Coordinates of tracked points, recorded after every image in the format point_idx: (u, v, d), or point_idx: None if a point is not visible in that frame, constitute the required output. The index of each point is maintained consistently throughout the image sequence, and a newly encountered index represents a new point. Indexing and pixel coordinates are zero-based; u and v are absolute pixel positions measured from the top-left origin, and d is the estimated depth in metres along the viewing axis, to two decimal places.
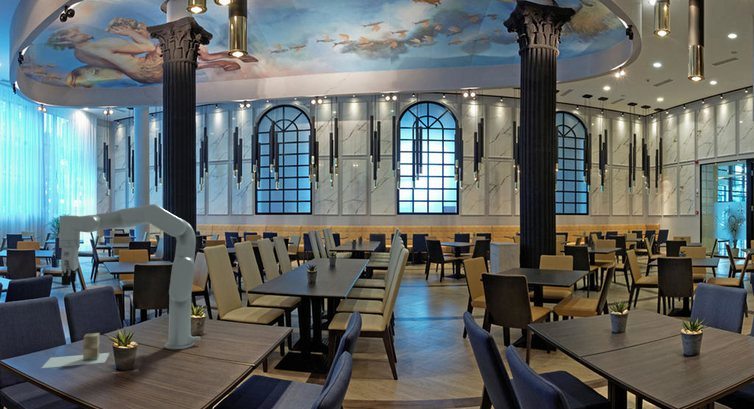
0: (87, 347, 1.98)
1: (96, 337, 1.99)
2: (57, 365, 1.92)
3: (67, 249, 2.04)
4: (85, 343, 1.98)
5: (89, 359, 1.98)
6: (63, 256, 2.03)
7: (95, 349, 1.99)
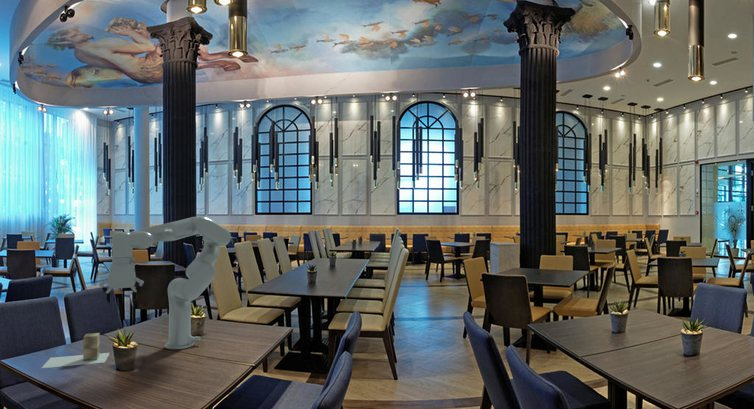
0: (87, 347, 1.98)
1: (96, 337, 1.99)
2: (57, 365, 1.92)
3: None
4: (85, 343, 1.98)
5: (89, 359, 1.98)
6: (134, 272, 2.06)
7: (95, 349, 1.99)
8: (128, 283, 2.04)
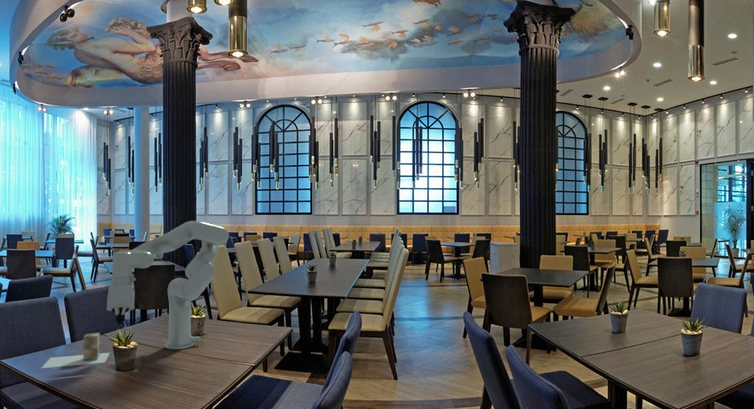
0: (87, 347, 1.98)
1: (96, 337, 1.99)
2: (57, 365, 1.92)
3: (133, 285, 2.07)
4: (85, 343, 1.98)
5: (89, 359, 1.98)
6: (133, 292, 2.05)
7: (95, 349, 1.99)
8: (127, 303, 2.03)
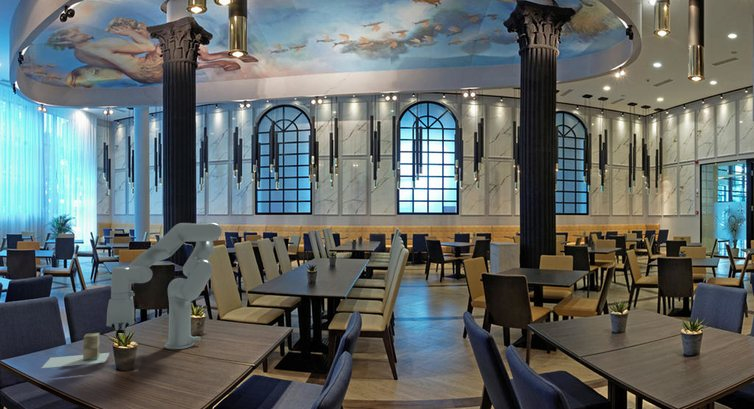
0: (87, 347, 1.98)
1: (96, 337, 1.99)
2: (57, 365, 1.92)
3: (132, 300, 2.06)
4: (85, 343, 1.98)
5: (89, 359, 1.98)
6: (133, 307, 2.05)
7: (95, 349, 1.99)
8: (127, 318, 2.04)
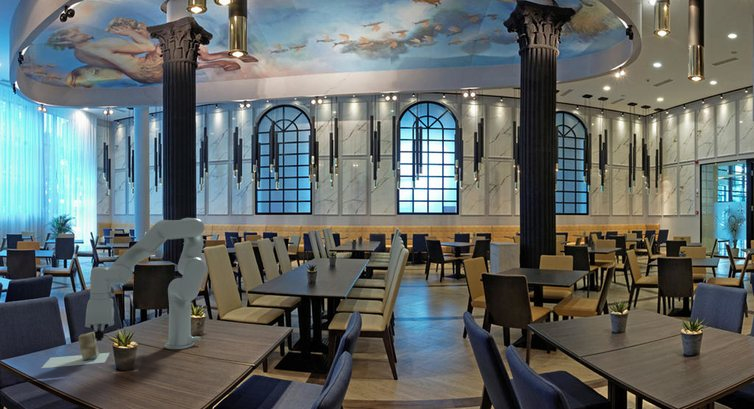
0: (84, 347, 1.97)
1: (91, 336, 1.98)
2: (57, 365, 1.92)
3: (112, 300, 2.04)
4: (81, 343, 1.97)
5: (89, 358, 1.98)
6: (112, 308, 2.02)
7: (93, 348, 1.99)
8: (106, 319, 2.01)
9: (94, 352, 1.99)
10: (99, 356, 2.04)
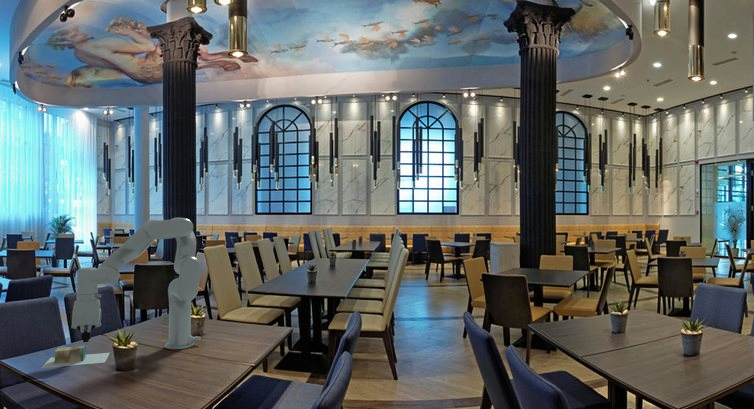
0: (67, 359, 1.95)
1: (56, 352, 1.94)
2: (57, 365, 1.92)
3: (99, 301, 2.02)
4: (62, 361, 1.95)
5: (81, 355, 1.97)
6: (99, 309, 2.01)
7: (71, 351, 1.96)
8: (93, 320, 1.99)
9: (76, 350, 1.96)
10: (99, 356, 2.04)
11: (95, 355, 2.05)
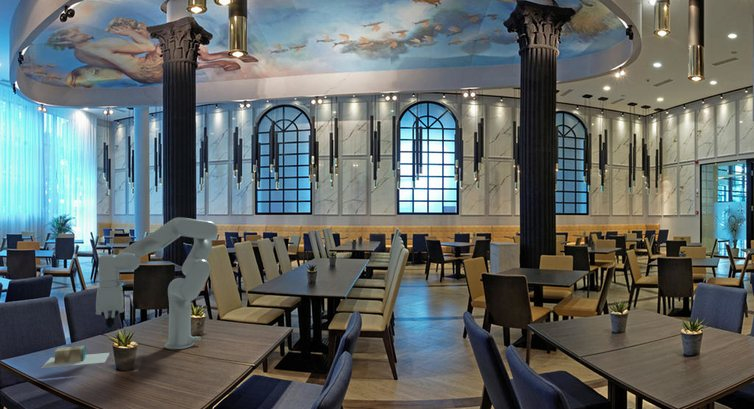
0: (67, 359, 1.95)
1: (56, 352, 1.94)
2: (57, 365, 1.92)
3: (121, 287, 2.05)
4: (62, 361, 1.95)
5: (81, 355, 1.97)
6: (122, 295, 2.04)
7: (71, 351, 1.96)
8: (116, 306, 2.02)
9: (76, 350, 1.96)
10: (99, 356, 2.04)
11: (95, 355, 2.05)
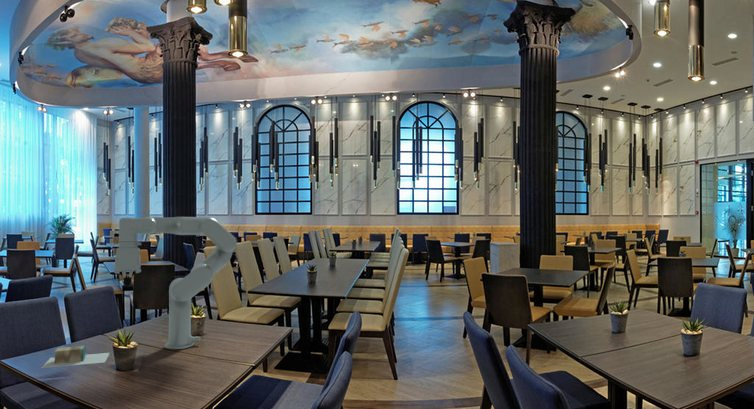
0: (67, 359, 1.95)
1: (56, 352, 1.94)
2: (57, 365, 1.92)
3: (139, 249, 2.17)
4: (62, 361, 1.95)
5: (81, 355, 1.97)
6: (139, 256, 2.15)
7: (71, 351, 1.96)
8: (134, 266, 2.14)
9: (76, 350, 1.96)
10: (99, 356, 2.04)
11: (95, 355, 2.05)
